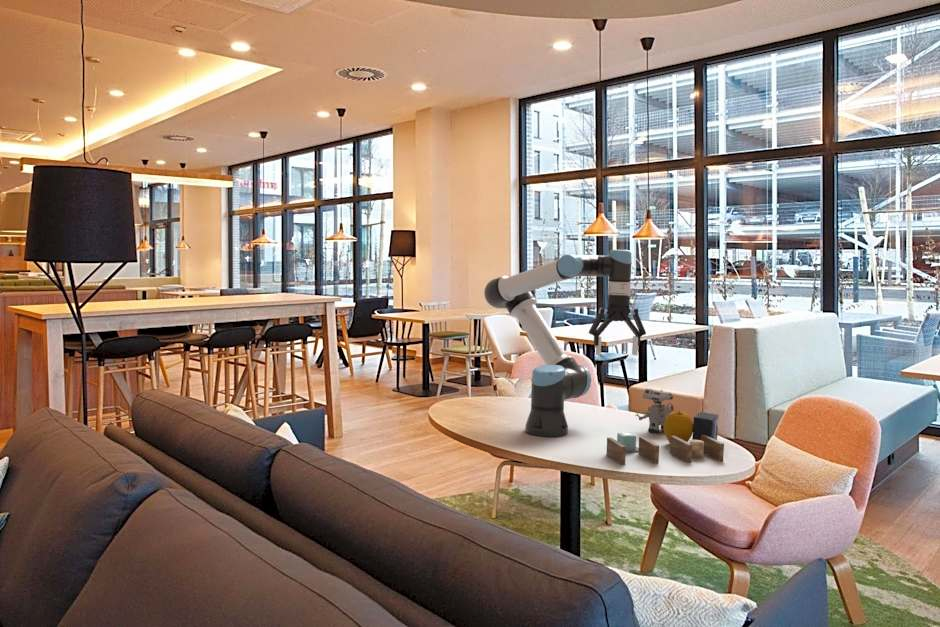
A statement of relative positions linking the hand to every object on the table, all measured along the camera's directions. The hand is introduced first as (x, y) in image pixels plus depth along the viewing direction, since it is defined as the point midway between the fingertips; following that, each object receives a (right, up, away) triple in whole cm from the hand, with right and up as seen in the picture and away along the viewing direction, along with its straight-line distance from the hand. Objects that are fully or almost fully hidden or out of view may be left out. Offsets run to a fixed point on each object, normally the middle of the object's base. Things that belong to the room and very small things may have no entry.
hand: (616, 355), depth 240 cm
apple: (+19, -30, -8) cm, 36 cm away
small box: (+28, -30, -8) cm, 42 cm away
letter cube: (0, -29, -15) cm, 33 cm away
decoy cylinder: (+20, -31, -22) cm, 43 cm away
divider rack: (+10, -31, -24) cm, 40 cm away
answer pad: (0, -30, -15) cm, 33 cm away
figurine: (+17, -29, +12) cm, 35 cm away
